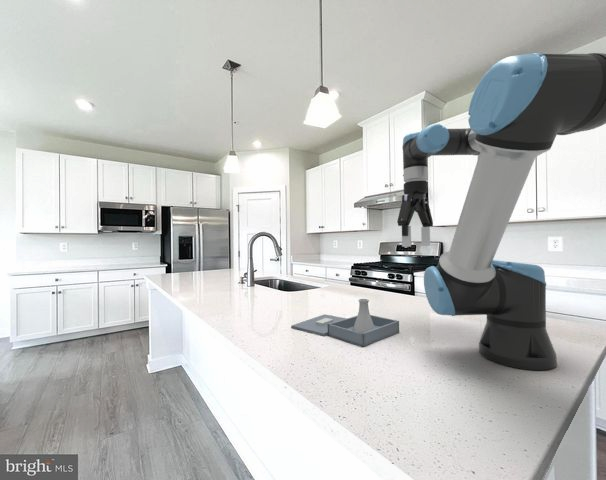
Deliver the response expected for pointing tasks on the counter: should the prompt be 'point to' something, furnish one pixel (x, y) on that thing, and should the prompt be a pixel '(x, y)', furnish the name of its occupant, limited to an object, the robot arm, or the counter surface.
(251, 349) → the counter surface
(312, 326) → the bin lid
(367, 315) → the flask
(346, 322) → the bin
